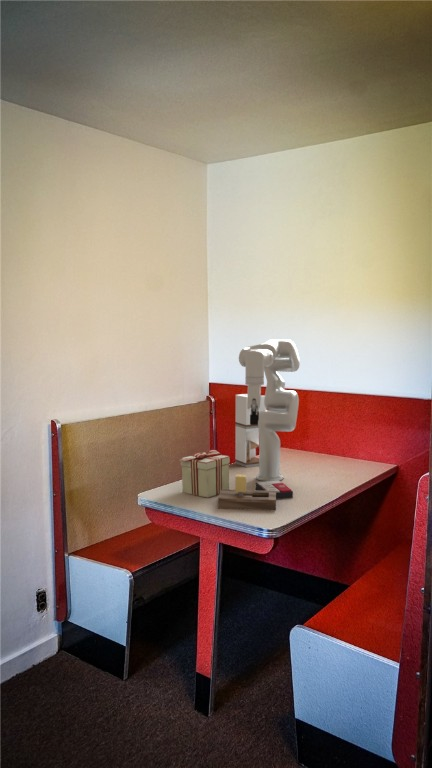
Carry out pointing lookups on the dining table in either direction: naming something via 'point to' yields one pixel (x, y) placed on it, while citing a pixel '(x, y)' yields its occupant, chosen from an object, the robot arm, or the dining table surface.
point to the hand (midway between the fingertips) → (254, 422)
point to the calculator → (275, 488)
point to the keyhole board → (247, 500)
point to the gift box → (205, 473)
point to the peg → (240, 484)
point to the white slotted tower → (246, 433)
